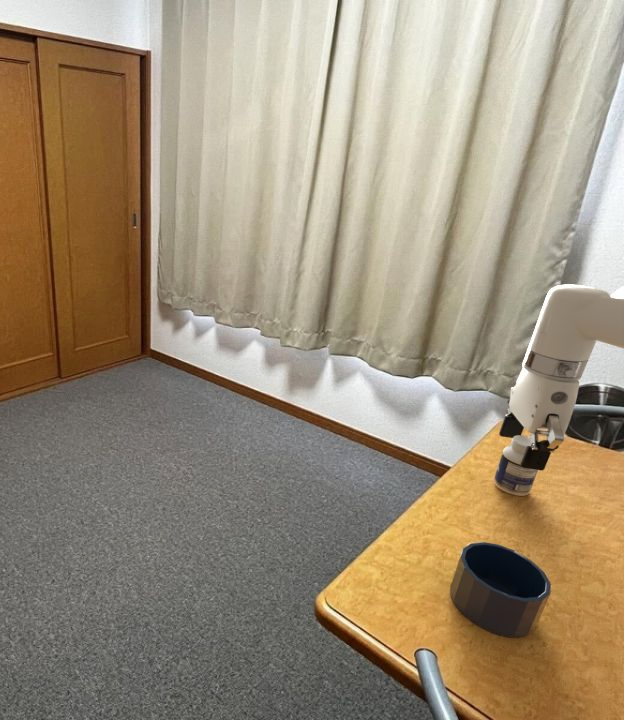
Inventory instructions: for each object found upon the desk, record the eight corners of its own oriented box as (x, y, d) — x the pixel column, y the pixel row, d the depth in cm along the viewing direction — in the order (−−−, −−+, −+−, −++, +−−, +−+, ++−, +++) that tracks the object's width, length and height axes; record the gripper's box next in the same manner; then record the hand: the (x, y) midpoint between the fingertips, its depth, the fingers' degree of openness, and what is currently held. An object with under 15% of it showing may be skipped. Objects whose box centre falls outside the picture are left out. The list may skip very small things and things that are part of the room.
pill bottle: (496, 473, 89) (511, 429, 85) (532, 486, 86) (549, 440, 82) (489, 487, 86) (504, 441, 82) (526, 501, 82) (544, 453, 78)
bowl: (517, 585, 66) (531, 550, 64) (548, 646, 58) (565, 609, 56) (441, 570, 69) (452, 536, 66) (461, 627, 61) (474, 590, 58)
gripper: (613, 390, 67) (569, 486, 74) (556, 345, 83) (524, 429, 90) (550, 383, 69) (514, 477, 76) (506, 341, 85) (478, 423, 92)
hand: (519, 451), depth 83 cm, fingers open, 9 cm apart
